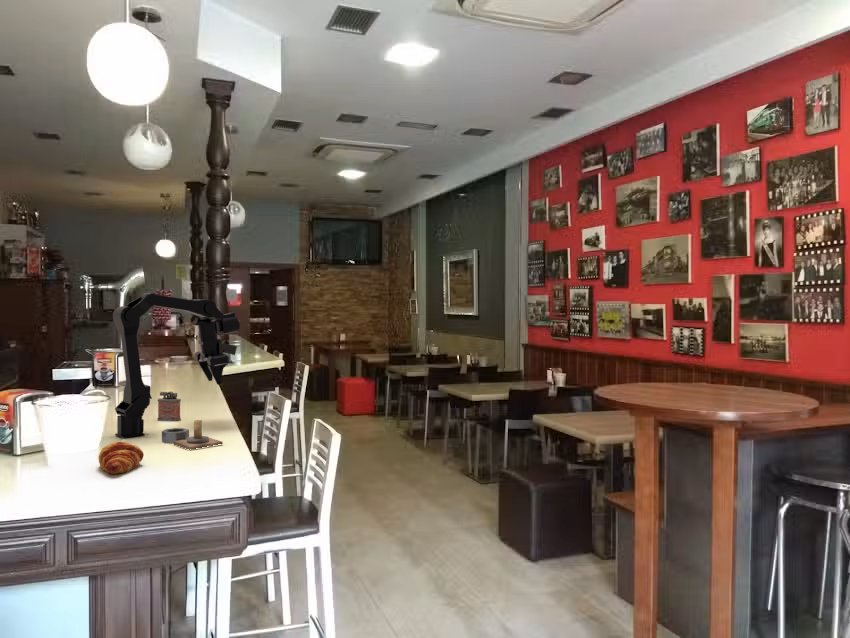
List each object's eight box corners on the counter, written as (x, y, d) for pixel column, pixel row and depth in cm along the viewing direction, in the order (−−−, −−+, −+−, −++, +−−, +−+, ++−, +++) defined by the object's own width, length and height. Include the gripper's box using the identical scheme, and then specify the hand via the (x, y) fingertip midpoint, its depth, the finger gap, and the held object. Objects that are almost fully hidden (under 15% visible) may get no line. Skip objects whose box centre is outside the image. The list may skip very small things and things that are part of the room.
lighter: (182, 419, 224) (182, 391, 224) (177, 421, 221) (178, 392, 220) (160, 419, 225) (160, 390, 225) (155, 420, 221) (155, 392, 221)
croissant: (113, 471, 169) (97, 445, 168) (149, 451, 172) (134, 425, 171) (103, 491, 149) (85, 462, 148) (144, 468, 152) (127, 439, 151)
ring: (169, 444, 186) (169, 433, 185) (158, 440, 190) (158, 430, 190) (192, 440, 191) (192, 430, 190) (181, 437, 195) (181, 427, 195)
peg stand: (189, 450, 178) (189, 425, 178) (173, 444, 185) (173, 420, 185) (222, 445, 185) (222, 420, 185) (205, 439, 192) (205, 416, 192)
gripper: (241, 335, 211) (247, 381, 213) (223, 331, 226) (229, 374, 228) (207, 340, 204) (214, 388, 206) (191, 336, 220) (197, 380, 221)
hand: (214, 382), depth 216 cm, fingers open, 9 cm apart
